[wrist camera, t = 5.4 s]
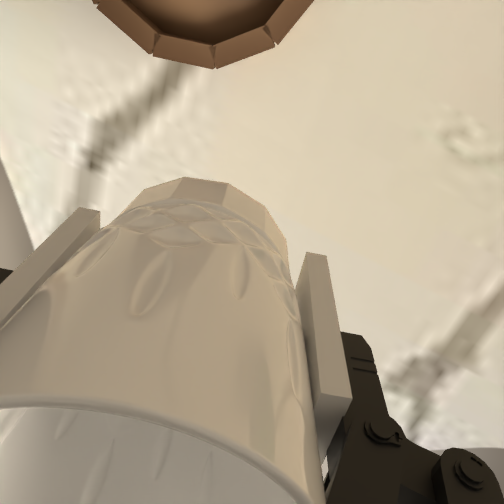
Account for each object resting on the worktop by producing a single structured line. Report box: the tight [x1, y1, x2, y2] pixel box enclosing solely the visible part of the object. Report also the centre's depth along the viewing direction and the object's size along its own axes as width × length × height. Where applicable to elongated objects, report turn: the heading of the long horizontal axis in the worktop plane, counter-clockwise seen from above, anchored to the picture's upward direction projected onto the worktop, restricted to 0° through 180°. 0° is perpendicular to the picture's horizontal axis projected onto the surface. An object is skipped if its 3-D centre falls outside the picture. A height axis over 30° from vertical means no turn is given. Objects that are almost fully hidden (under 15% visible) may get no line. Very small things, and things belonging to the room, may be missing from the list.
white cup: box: [0, 177, 326, 504], centre depth 12 cm, size 8×8×10 cm
